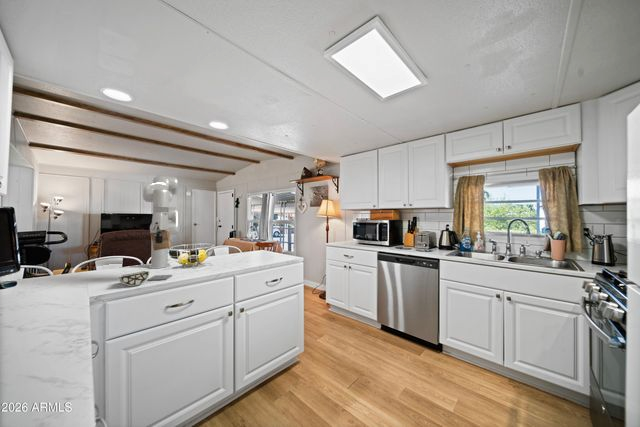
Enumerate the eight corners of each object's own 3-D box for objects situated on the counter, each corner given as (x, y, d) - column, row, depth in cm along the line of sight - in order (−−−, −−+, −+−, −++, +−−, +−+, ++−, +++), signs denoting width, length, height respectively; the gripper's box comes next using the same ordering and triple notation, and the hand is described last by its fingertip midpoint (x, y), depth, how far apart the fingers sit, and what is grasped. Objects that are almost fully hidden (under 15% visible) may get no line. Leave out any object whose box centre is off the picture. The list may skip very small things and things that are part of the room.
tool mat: (154, 276, 136) (154, 275, 136) (172, 276, 138) (172, 274, 138) (147, 281, 128) (147, 279, 128) (165, 280, 129) (165, 278, 130)
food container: (119, 287, 121) (119, 289, 114) (118, 275, 121) (118, 277, 114) (148, 281, 129) (150, 283, 122) (147, 270, 130) (149, 271, 122)
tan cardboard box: (156, 249, 134) (153, 232, 134) (172, 247, 136) (169, 230, 136) (153, 250, 131) (150, 233, 130) (169, 247, 132) (166, 230, 132)
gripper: (160, 210, 140) (159, 241, 140) (146, 210, 124) (145, 244, 124) (173, 210, 142) (173, 241, 142) (161, 210, 126) (161, 244, 126)
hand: (160, 242), depth 133 cm, fingers closed on tan cardboard box, 3 cm apart
